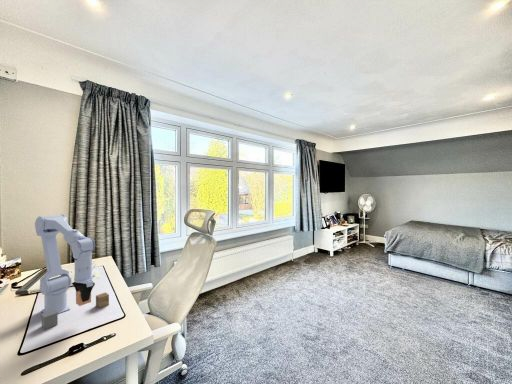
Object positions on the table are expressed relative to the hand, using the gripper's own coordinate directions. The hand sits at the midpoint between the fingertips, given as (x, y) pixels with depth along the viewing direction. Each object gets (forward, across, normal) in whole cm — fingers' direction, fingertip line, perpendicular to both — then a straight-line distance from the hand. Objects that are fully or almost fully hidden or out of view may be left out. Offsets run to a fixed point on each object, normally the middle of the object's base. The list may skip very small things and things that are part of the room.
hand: (83, 299), depth 93 cm
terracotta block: (+2, 0, 0) cm, 2 cm away
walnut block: (+10, +8, -10) cm, 16 cm away
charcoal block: (+10, +8, +9) cm, 15 cm away
